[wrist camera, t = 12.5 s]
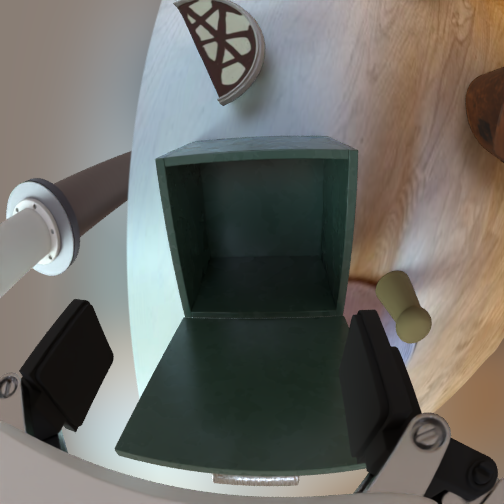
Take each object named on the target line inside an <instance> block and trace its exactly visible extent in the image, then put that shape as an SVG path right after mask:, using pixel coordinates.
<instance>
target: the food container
mask: <svg viewBox="0 0 504 504" xmlns="http://www.w3.org/2000/svg"><path fill="white" fill-rule="evenodd" d="M173 4H174V5H175V6H176V7H177V8H178V9H179V11H180V13H181V14H182V16H183V18H184V21H185V23H186V25H187V27H188V29H189V31H190V34H191V36H192V38H193V40H194V43H195V45H196V47H197V50H198V52H199V54H200V56H201V58H202V60H203V62H204V64H205V67H206V69H207V71H208V73H209V76H210V78H211V80H212V82H213V85H214V87H215V89H216V91H217V94H218V96H219V99H217V100H218V101H219V103H220V104H221V105H222V106H224V105H226V104H228V103H230V102H232V101H234V100H235V99H236V98H238V97H239V96H241V95H242V94H243V93H244V92H245V91H246V90H247V89H248V88H249V87H250V86H251V85H252V83H253V82H254V81H255V79H256V78H257V76H258V74H259V73H260V70H261V67H262V65H263V61H264V56H265V42H264V36H263V34H262V31H261V28H260V27H259V25H258V23H257V22H256V20H255V19H254V18H253V17H252V16H251V15H250V14H249V13H248V12H247V11H245V10H244V9H243V8H242V7H240V6H239V5H237V4H235V3H233V2H231V1H229V0H180V1H177V2H175V3H173ZM220 97H221V98H220Z"/></svg>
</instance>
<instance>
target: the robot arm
mask: <svg viewBox="0 0 504 504" xmlns="http://www.w3.org/2000/svg"><path fill="white" fill-rule="evenodd" d="M59 251H60V233H59V229H58V226H57V224H56V221H55V219H54V217H53V215H52V214H51V212H50V211H49V209H48V208H47V207H46V206H45V205H44V204H43V203H41V202H40V201H38V200H36V199H33V198H26V199H24V200H22V201H20V202H19V203H18V204H17V205H16V207H15V209H14V211H13V215H12V216H11V217H10V218H8V219H7V220H5V221H4V222H2V223H0V298H1V297H2V296H3V295H4V294H5V293H6V292H7V291H8V290H9V289H10V288H11V287H12V286H13V285H14V284H15V283H16V282H17V281H19V279H21V278H22V277H23V276H24V275H25V274H26V273H27V272H28V271H29V270H31V268H33V267H34V266H35V265H36V264H37V263H38V264H42V265H45V264H49V263H51V262H52V261H53V260H54V259H55V258H56V257H57V256H58V253H59ZM113 357H114V356H113V353H112V350H111V348H110V346H109V344H108V342H107V339H106V337H105V335H104V332H103V330H102V328H101V326H100V323H99V321H98V318H97V316H96V313H95V311H94V308H93V306H92V305H90V303H89V302H88V301H86V300H79V299H74V300H73V301H72V302H71V303H70V304H69V306H68V307H67V308H66V309H65V310H64V312H63V313H62V314H61V315H60V317H59V318H58V319H57V320H56V322H55V323H54V324H53V326H52V327H51V328H50V329H49V331H48V332H47V333H46V334H45V336H44V337H43V339H42V340H41V341H40V343H39V344H38V345H37V346H36V348H35V349H34V351H33V352H32V353H31V355H30V356H29V358H28V359H27V360H26V362H25V363H24V365H23V366H22V368H21V369H20V370H19V371H20V373H21V374H22V376H23V377H22V378H20V377H19V376H18V375H17V374H16V373H6V374H4V375H3V376H1V377H0V504H504V478H501V479H500V480H499V479H498V478H497V477H498V470H497V466H496V463H495V462H494V461H493V459H491V458H490V457H488V456H486V455H484V454H482V453H480V452H478V451H476V450H474V449H472V448H470V447H468V446H466V445H464V444H462V443H460V442H458V441H456V440H454V439H452V438H451V433H450V427H449V425H448V423H447V422H446V420H445V419H444V418H443V417H441V416H439V415H438V414H434V413H421V410H420V407H419V404H418V401H417V398H416V395H415V392H414V389H413V386H412V383H411V381H410V378H409V375H408V372H407V370H406V367H405V364H404V362H403V359H402V357H401V354H400V352H399V350H398V348H397V347H391V346H390V343H389V341H388V338H387V336H386V333H385V330H384V328H383V325H382V323H381V321H380V318H379V316H378V313H377V311H376V310H359V311H358V313H357V315H353V316H352V319H351V324H350V328H349V332H348V336H347V340H346V344H345V348H344V352H343V356H342V359H341V363H340V367H339V378H340V384H341V390H342V396H343V402H344V409H345V415H346V422H347V429H348V436H349V444H350V452H351V456H352V457H356V458H357V464H362V463H366V469H367V471H368V472H369V473H368V474H367V476H366V477H365V479H364V480H363V481H362V483H361V484H360V485H359V487H358V488H357V489H356V490H355V492H354V493H353V494H344V495H329V496H314V497H254V496H238V495H227V494H217V493H210V492H203V491H196V490H190V489H184V488H179V487H174V486H169V485H164V484H160V483H155V482H151V481H147V480H144V479H140V478H136V477H133V476H129V475H126V474H122V473H119V472H116V471H113V470H110V469H107V468H104V467H101V466H99V465H96V464H93V463H91V462H88V461H85V460H82V459H80V458H78V457H76V456H73V455H70V454H68V452H67V448H66V445H65V441H64V438H63V434H62V430H61V429H62V427H63V426H64V427H65V428H66V429H69V430H72V431H74V432H76V431H77V429H78V427H79V426H81V425H82V423H83V421H84V419H85V417H86V415H87V413H88V410H89V408H90V406H91V404H92V402H93V400H94V398H95V396H96V394H97V392H98V390H99V388H100V386H101V384H102V382H103V380H104V378H105V376H106V374H107V372H108V370H109V368H110V366H111V364H112V362H113Z"/></svg>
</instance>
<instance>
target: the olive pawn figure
mask: <svg viewBox="0 0 504 504" xmlns="http://www.w3.org/2000/svg"><path fill="white" fill-rule="evenodd" d="M376 295H377V297H378V299H379V300H380V301H381V303H382V304H383V305H384V307H385V308H386V309H387V311H388V312H389V314H390V315H391V316H392V318H393V319H394V321H395V322H396V332H397V335H398V336H399V338H400V339H401V340H402V341H404V342H406V343H416V342H418V341H420V340H422V339H423V338H424V337H425V336H426V335H427V334H428V333H429V331H430V329H431V325H432V322H431V317H430V315H429V313H428V312H427V311H426V310H425V309H423V308H422V307H421V306H420V304H419V301H418V299H417V296H416V294H415V291H414V289H413V286H412V284H411V282H410V279H409V277H408V276H407V274H406V273H404V272H402V271H392V272H390V273H387V274H386V275H385V276H383V277H382V278H381V279H380V281H379V282H378V284H377V286H376Z"/></svg>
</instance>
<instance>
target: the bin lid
mask: <svg viewBox="0 0 504 504" xmlns="http://www.w3.org/2000/svg"><path fill="white" fill-rule="evenodd" d="M348 332H349V327H348V324H347V322H346V320H345V317H344V316H328V317H304V318H250V319H240V318H186V317H184V318H183V320H182V321H181V323H180V325H179V327H178V329H177V330H176V332H175V334H174V336H173V338H172V340H171V341H170V343H169V345H168V347H167V349H166V351H165V352H164V354H163V356H162V358H161V360H160V362H159V364H158V365H157V367H156V369H155V371H154V373H153V375H152V377H151V379H150V381H149V382H148V384H147V386H146V388H145V390H144V392H143V394H142V396H141V398H140V400H139V402H138V403H137V405H136V407H135V409H134V411H133V413H132V415H131V417H130V419H129V421H128V423H127V425H126V427H125V429H124V431H123V433H122V435H121V437H120V439H119V441H118V443H117V445H116V447H115V451H116V452H117V454H118V455H119V456H123V457H127V458H130V459H134V460H138V461H142V462H147V463H151V464H156V465H161V466H166V467H171V468H177V469H183V470H190V471H197V472H205V473H212V479H213V482H214V483H219V484H231V485H249V486H250V485H251V486H294V485H298V483H299V476H302V475H318V474H328V473H337V472H345V471H353V470H359V469H365V468H366V463H362V464H357V458H356V457H352V456H351V452H350V444H349V436H348V429H347V422H346V415H345V409H344V402H343V396H342V390H341V384H340V378H339V367H340V363H341V359H342V356H343V352H344V348H345V344H346V340H347V336H348Z"/></svg>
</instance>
